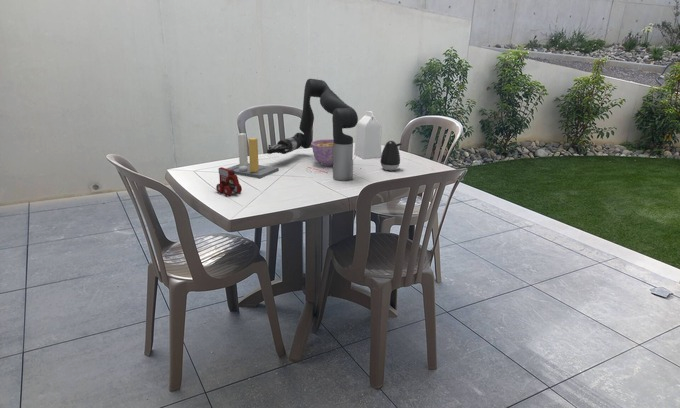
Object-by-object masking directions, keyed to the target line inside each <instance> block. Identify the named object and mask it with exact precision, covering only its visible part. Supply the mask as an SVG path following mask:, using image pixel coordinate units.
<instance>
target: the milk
mask: <svg viewBox="0 0 680 408" xmlns="http://www.w3.org/2000/svg"><path fill="white" fill-rule="evenodd" d="M355 127H356V128H355V143H354V154H353V156H356V157H358V158H360V159H362V160H371V159H372V160H373V159H381V155H382V123H380V122H379V121H378V120H377V118H376V117H375V116H374V111H370V110H365V113H364V115H363V116H362V117H361V119H359V120H358V123H357V125H356V126H355Z"/></svg>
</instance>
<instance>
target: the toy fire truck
mask: <svg viewBox="0 0 680 408" xmlns="http://www.w3.org/2000/svg"><path fill="white" fill-rule="evenodd" d="M218 174H219V177H218V178H219V183H217V184H216V186H215V189H216V191H217V192H218V193H219V194H223V193H224V195H225V196H227V197H229V196H231V195H232V193H236V194H239V193H241V192H242V190H243V189H242V185H241V184H240V181H239V178H238V176H237V174H235V171H234V170H229V169H226V168H225V167H224V166H223V167H222V166H221V167H219V168H218Z"/></svg>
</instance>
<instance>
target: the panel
mask: <svg viewBox="0 0 680 408" xmlns="http://www.w3.org/2000/svg"><path fill="white" fill-rule="evenodd" d="M239 166H241V165H240V163H238V164H235V165H233V166H229V167H227V168H226V169H229V170H234V171H235V175H238V176H242V177H243V176H245V177H249V178H254V179H262V178H265V177H267V176H270V175H272V174H275V173H277V172H279V171H280V169H279V167H275V166H268V165H263V164H259V171H257V172H250V162H248V165H246V166H247V169H248V171H246V172H240V171H239Z"/></svg>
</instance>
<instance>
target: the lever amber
mask: <svg viewBox="0 0 680 408" xmlns="http://www.w3.org/2000/svg"><path fill="white" fill-rule="evenodd" d="M247 141H248V153H249V154H248V158H249V160H248V161H249V163H250V172H257V171H259V165H260V164H259V145H258V144H259V143H258V138H256V137H250V138H247Z"/></svg>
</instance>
